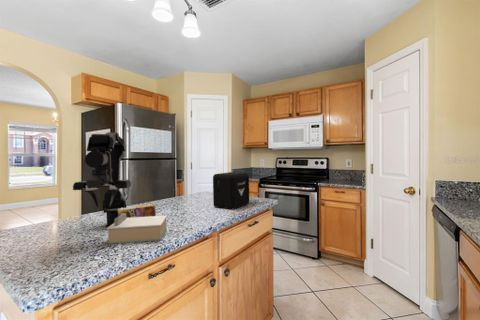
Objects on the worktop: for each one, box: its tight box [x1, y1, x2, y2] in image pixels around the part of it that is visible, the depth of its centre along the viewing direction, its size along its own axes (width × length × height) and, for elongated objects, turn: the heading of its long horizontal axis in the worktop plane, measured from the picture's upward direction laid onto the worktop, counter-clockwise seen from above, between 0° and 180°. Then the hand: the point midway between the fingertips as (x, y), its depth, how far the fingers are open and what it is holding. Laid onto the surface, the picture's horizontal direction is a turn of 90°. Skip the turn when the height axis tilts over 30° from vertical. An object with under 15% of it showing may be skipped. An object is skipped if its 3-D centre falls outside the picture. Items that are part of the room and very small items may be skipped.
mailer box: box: [107, 218, 168, 245], centre depth 91 cm, size 18×13×5 cm
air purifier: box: [212, 171, 250, 210], centre depth 144 cm, size 20×15×20 cm
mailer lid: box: [106, 213, 168, 230], centre depth 91 cm, size 19×14×3 cm
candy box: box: [118, 203, 157, 218], centre depth 104 cm, size 9×4×15 cm
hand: (103, 207), depth 89 cm, fingers open, 4 cm apart
